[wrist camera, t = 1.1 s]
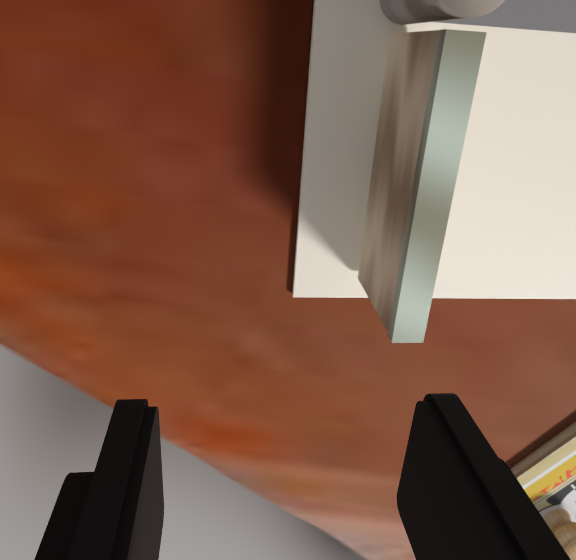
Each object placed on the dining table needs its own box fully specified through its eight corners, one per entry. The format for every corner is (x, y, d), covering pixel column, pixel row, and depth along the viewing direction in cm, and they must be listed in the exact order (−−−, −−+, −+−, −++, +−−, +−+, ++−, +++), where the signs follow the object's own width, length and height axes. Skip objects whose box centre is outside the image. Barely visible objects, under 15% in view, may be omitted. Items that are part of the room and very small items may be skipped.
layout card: (893, -443, 18) (910, -455, 18) (615, 296, 31) (621, 300, 30) (356, -565, 16) (359, -583, 15) (292, 293, 28) (293, 298, 28)
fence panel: (387, 33, 22) (446, 29, 16) (417, 35, 22) (486, 32, 17) (355, 277, 27) (391, 342, 21) (380, 278, 28) (422, 342, 22)
